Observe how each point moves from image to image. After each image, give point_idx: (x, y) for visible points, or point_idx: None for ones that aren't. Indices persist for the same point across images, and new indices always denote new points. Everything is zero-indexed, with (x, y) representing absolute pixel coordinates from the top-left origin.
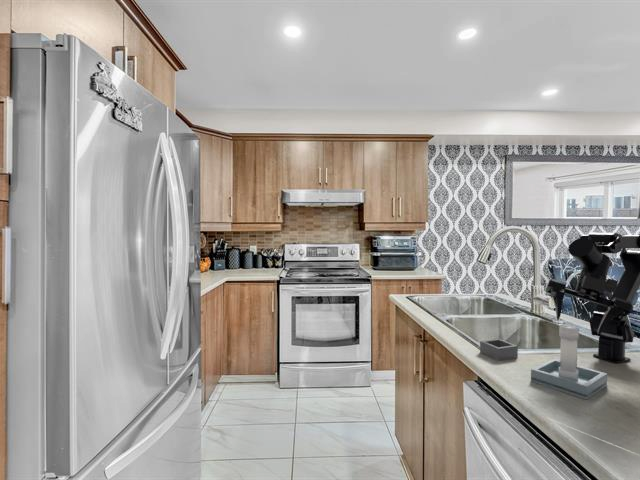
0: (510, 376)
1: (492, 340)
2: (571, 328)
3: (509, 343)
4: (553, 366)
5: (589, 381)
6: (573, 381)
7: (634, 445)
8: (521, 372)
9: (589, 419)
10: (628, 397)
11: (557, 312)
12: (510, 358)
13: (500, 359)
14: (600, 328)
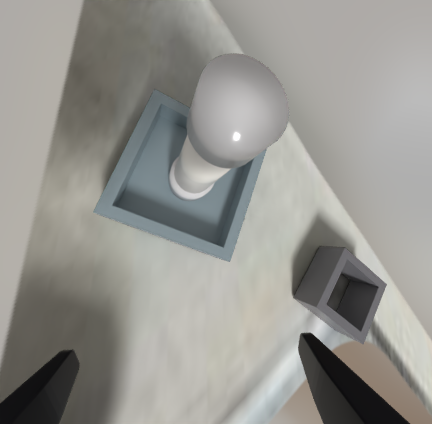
0: (285, 169)
1: (369, 312)
2: (235, 78)
3: (335, 316)
4: (222, 236)
5: (146, 124)
6: (182, 109)
7: None
8: (272, 204)
9: (154, 29)
10: (59, 168)
11: (348, 367)
12: (304, 277)
13: (318, 251)
14: (44, 378)
